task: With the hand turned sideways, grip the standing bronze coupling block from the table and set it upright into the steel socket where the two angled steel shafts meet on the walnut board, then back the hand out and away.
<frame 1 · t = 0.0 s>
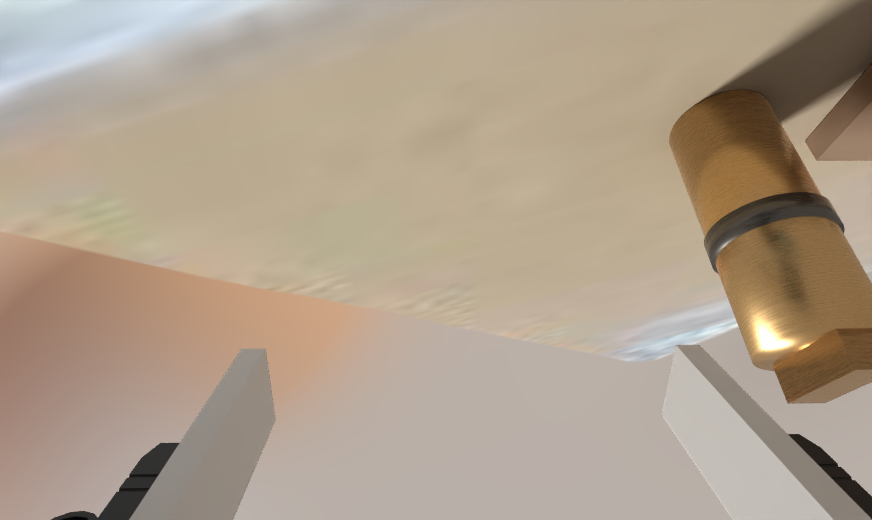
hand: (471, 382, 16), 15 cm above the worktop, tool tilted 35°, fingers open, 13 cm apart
coupling: (718, 127, 27), on the worktop
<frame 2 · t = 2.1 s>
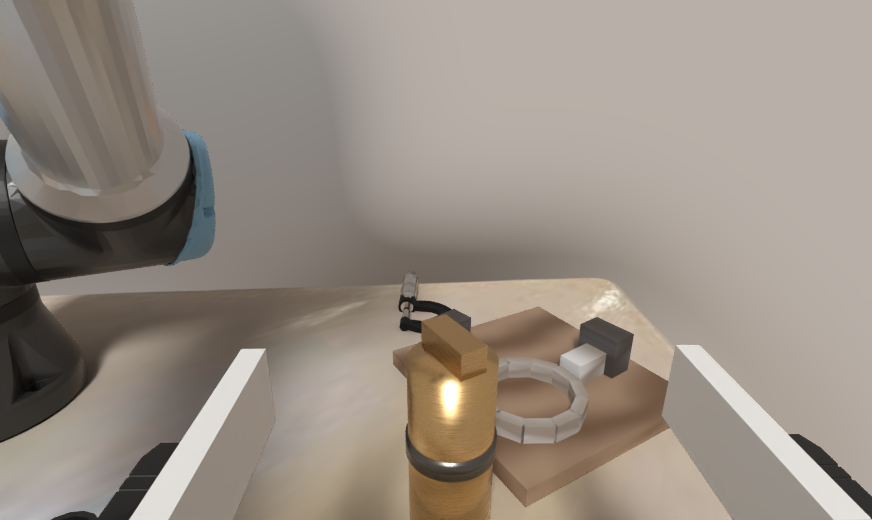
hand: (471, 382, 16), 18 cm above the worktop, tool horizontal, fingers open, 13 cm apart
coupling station: (533, 386, 46), on the worktop
micrometer: (428, 308, 62), on the worktop
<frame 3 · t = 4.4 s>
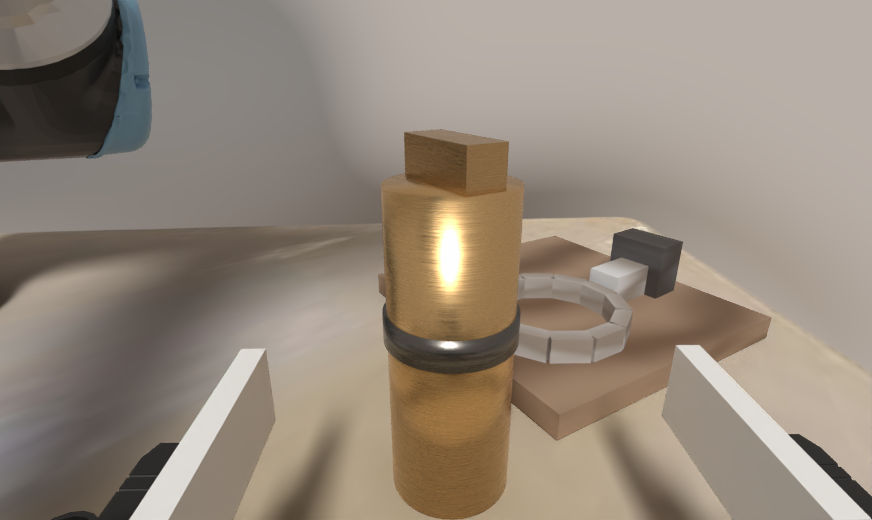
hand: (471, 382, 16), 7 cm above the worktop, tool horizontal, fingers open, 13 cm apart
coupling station: (554, 312, 37), on the worktop
coupling: (449, 471, 22), on the worktop
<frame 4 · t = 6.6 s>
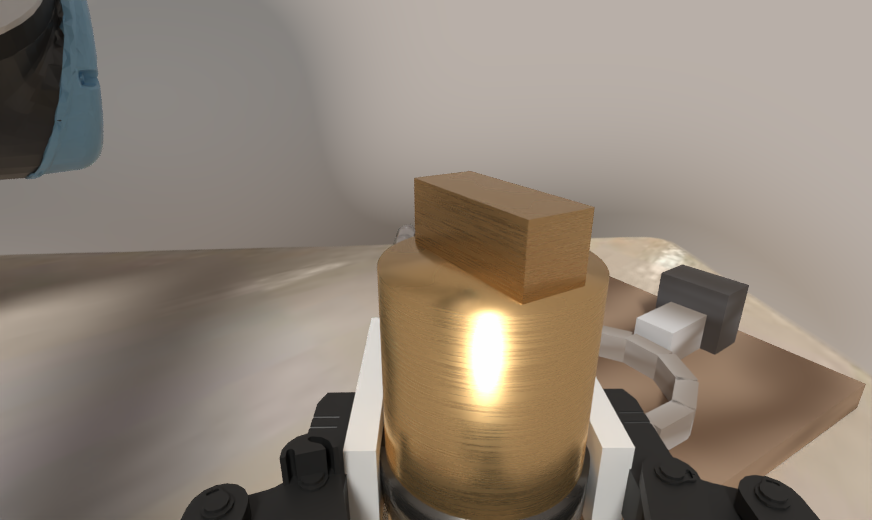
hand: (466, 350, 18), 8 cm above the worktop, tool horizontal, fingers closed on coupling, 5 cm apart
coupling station: (590, 368, 30), on the worktop
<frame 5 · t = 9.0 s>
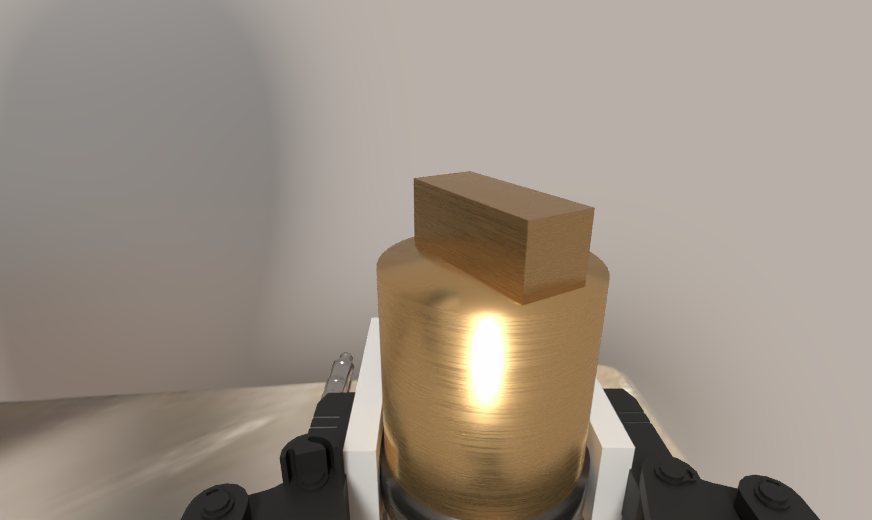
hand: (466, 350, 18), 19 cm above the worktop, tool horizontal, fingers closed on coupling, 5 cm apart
micrometer: (360, 415, 44), on the worktop
when the fingers open (10 cm above the worktop, at t = 11.7 s): coupling stays where it is, resting on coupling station.
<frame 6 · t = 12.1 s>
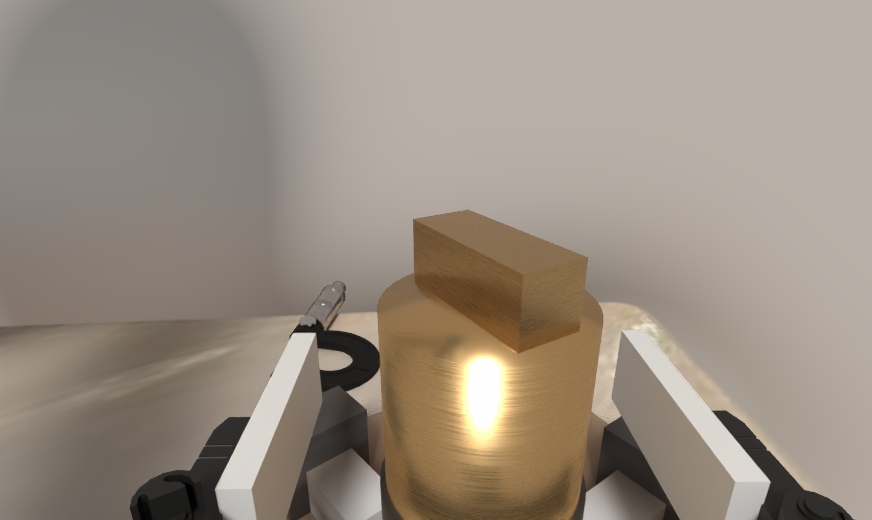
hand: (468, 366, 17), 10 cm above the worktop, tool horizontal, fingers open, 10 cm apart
micrometer: (345, 342, 39), on the worktop
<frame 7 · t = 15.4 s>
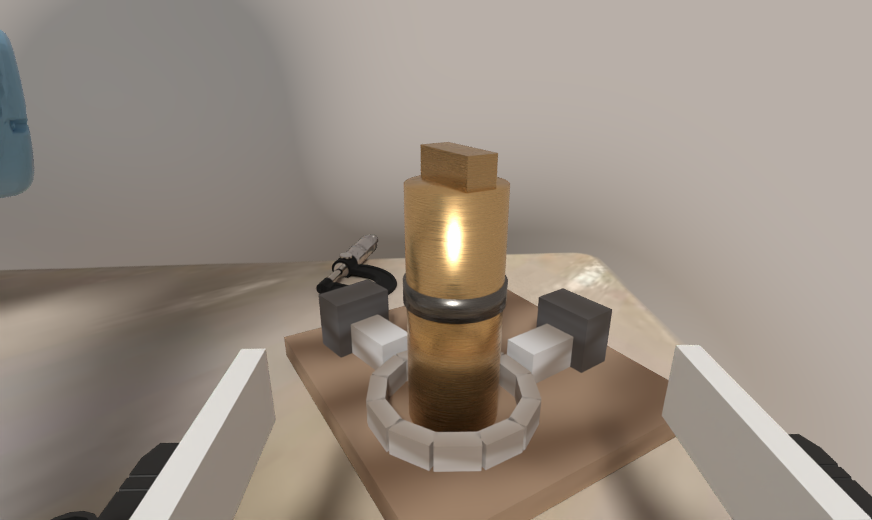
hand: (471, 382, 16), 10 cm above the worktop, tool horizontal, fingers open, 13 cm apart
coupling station: (472, 385, 33), on the worktop
coupling: (453, 409, 28), point 2 cm above the worktop, touching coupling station
micrometer: (373, 275, 52), on the worktop
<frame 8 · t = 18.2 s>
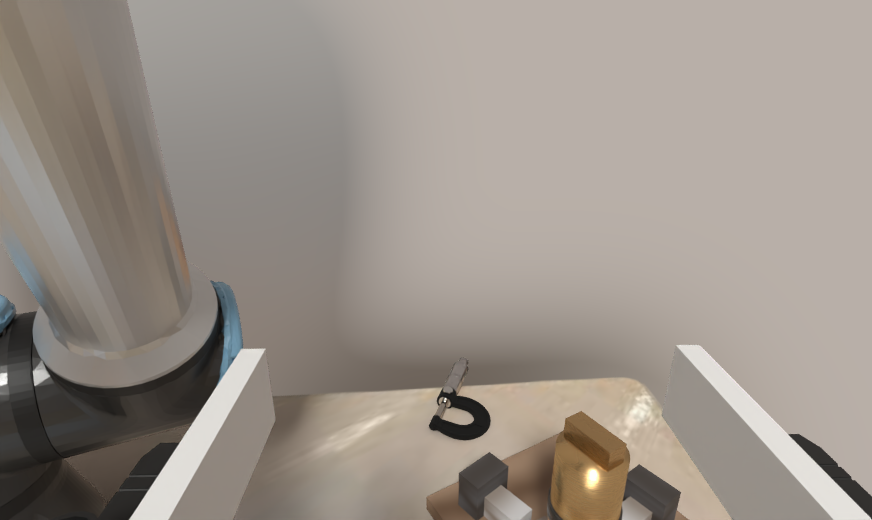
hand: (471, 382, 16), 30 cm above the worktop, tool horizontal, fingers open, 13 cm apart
micrometer: (468, 403, 64), on the worktop
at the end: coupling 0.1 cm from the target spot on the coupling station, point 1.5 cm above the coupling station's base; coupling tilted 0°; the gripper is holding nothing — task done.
